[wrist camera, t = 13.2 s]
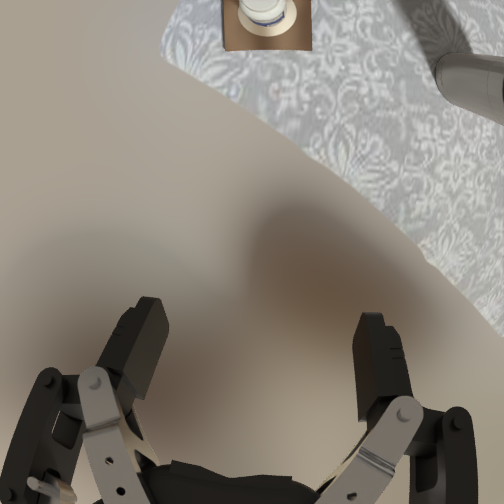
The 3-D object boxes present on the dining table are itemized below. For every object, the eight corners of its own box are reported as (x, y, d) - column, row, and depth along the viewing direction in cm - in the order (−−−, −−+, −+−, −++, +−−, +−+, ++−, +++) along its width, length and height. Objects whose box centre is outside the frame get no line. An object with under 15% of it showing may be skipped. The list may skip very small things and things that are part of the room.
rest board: (309, -20, 25) (309, -22, 25) (311, 50, 32) (312, 50, 32) (224, -18, 27) (222, -20, 26) (226, 51, 34) (225, 51, 33)
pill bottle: (251, -8, 27) (240, -27, 19) (290, -1, 27) (290, -19, 19) (243, 24, 30) (229, 12, 22) (281, 31, 30) (279, 20, 23)
